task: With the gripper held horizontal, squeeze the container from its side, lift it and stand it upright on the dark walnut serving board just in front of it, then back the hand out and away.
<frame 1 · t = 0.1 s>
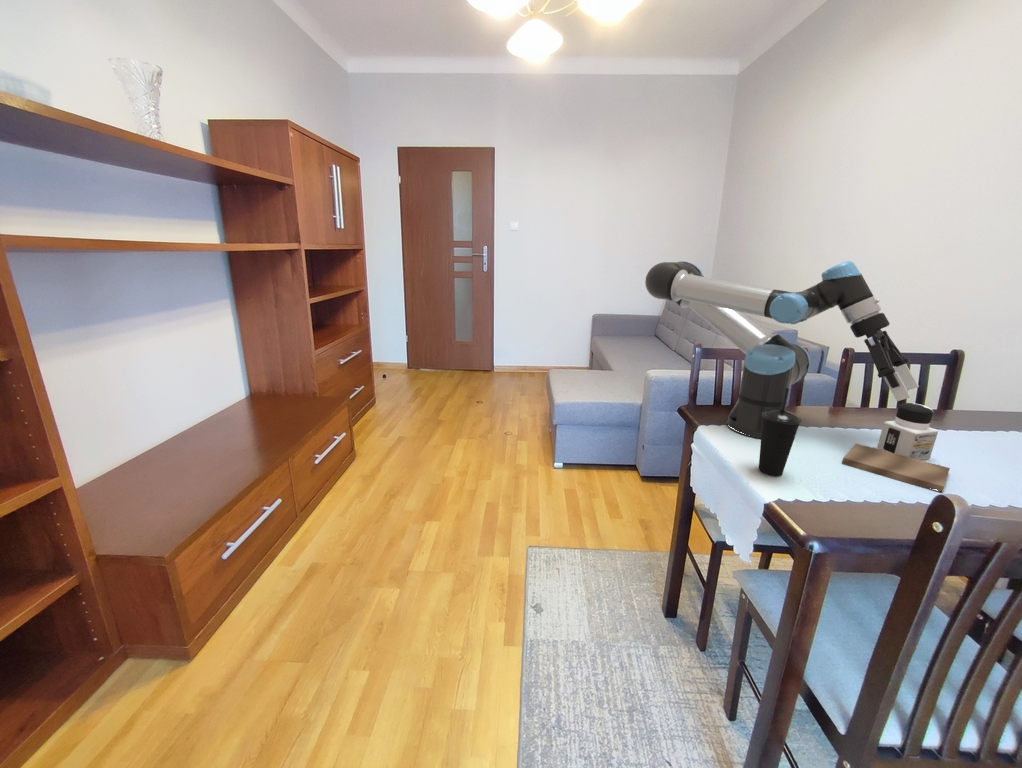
hand: (908, 393, 114), 15 cm above the table, tool tilted 35°, fingers open, 13 cm apart
drinking cup: (770, 472, 105), on the table
container: (902, 454, 116), on the table
serving board: (893, 468, 108), on the table
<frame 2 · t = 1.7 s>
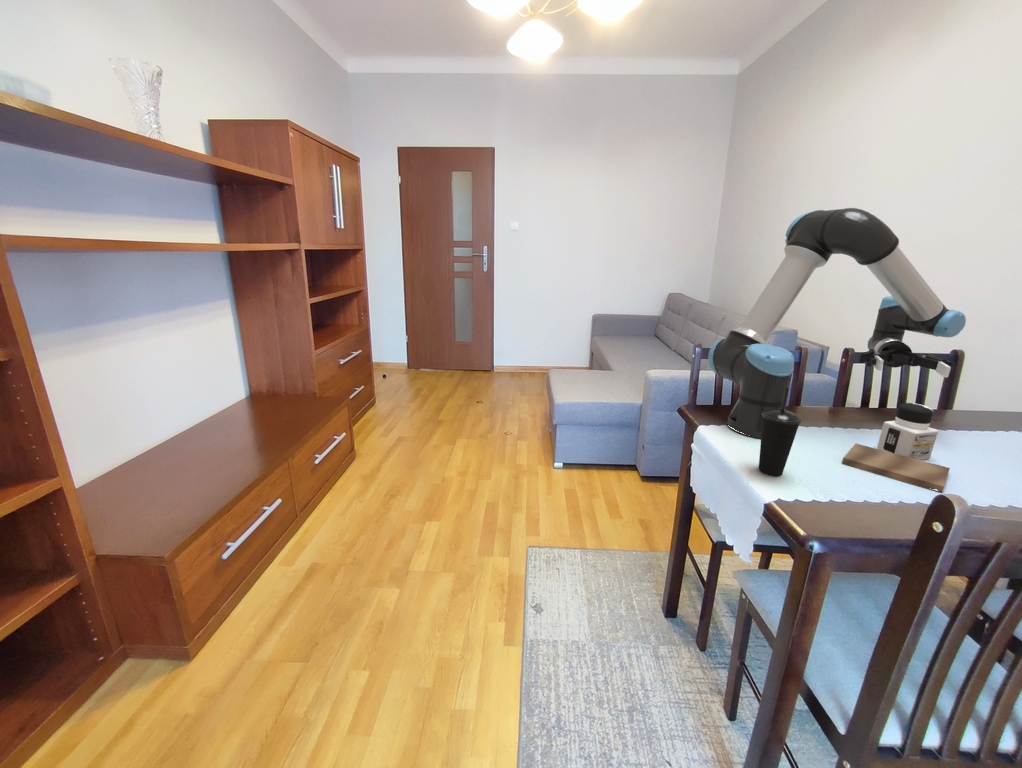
hand: (913, 368, 118), 20 cm above the table, tool horizontal, fingers open, 13 cm apart
nothing on the table moved.
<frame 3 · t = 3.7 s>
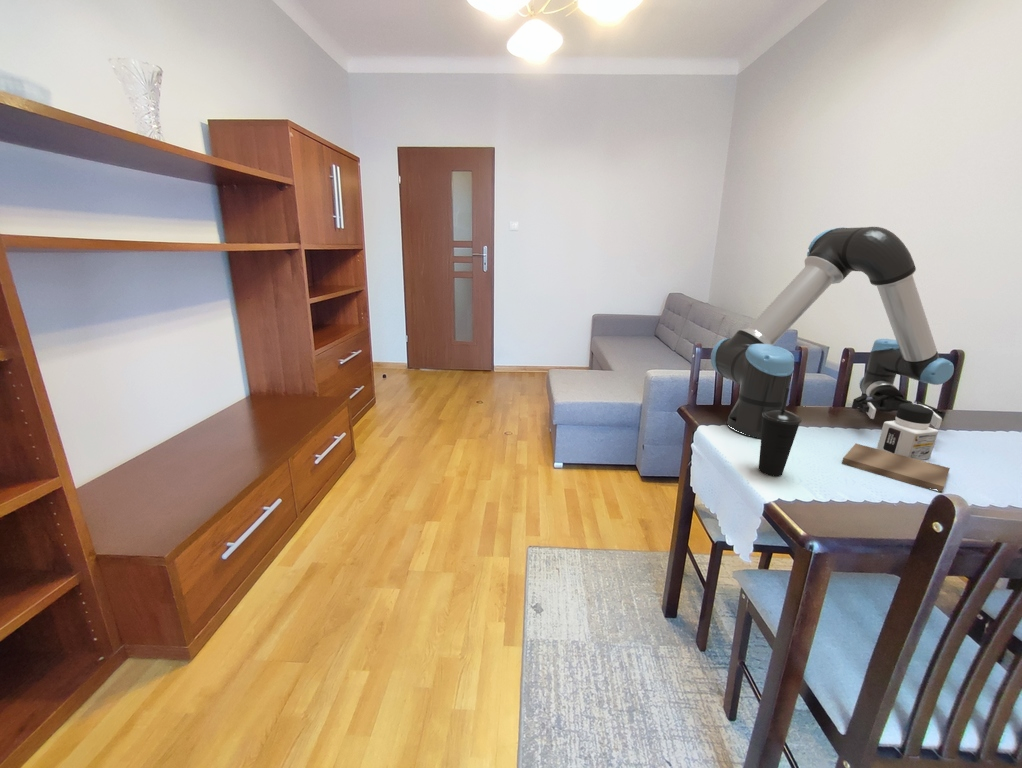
hand: (905, 418, 119), 7 cm above the table, tool horizontal, fingers open, 13 cm apart
nothing on the table moved.
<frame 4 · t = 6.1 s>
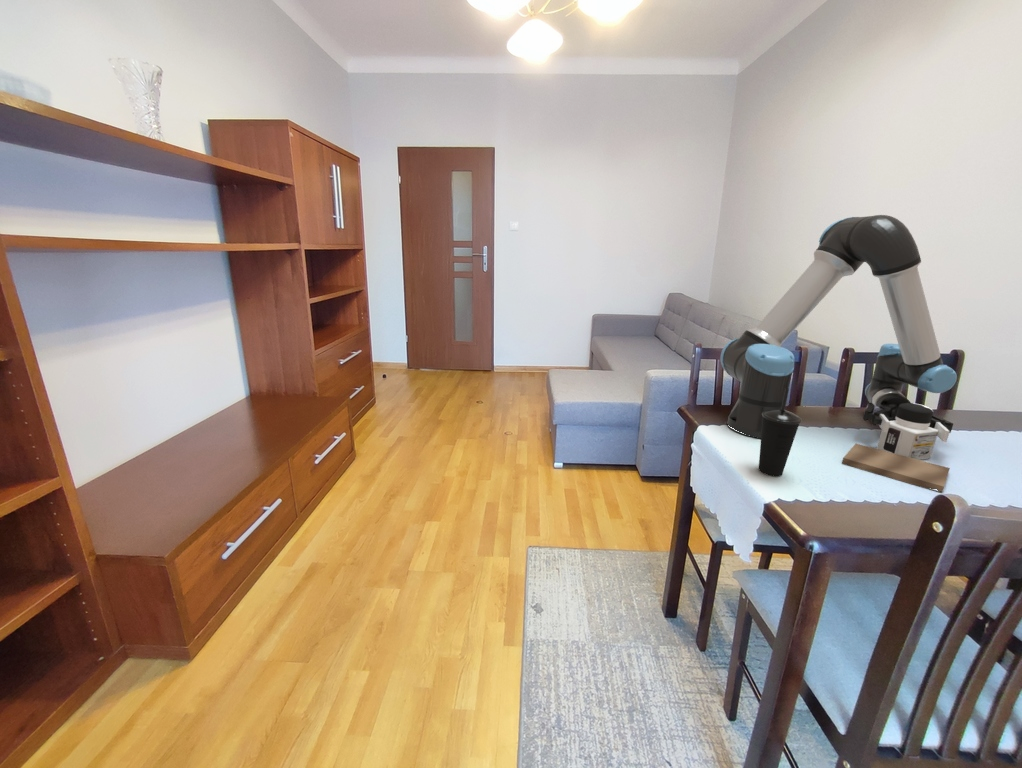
hand: (915, 431, 110), 8 cm above the table, tool horizontal, fingers closed on container, 10 cm apart
container: (902, 454, 116), on the table, touching gripper
everything else where it was.
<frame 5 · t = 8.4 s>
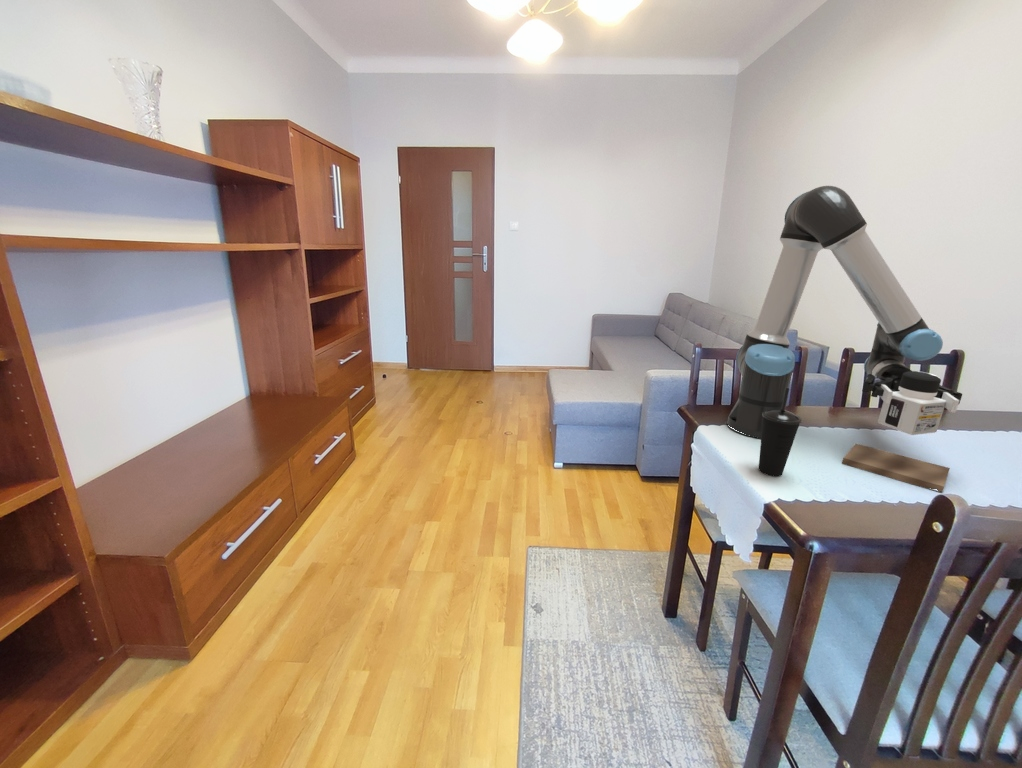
hand: (921, 401, 99), 18 cm above the table, tool horizontal, fingers closed on container, 10 cm apart
container: (905, 428, 105), point 10 cm above the table, touching gripper
everything else where it was.
when the fingers open (10 cm above the table, at t = 10.7 s): container drops 1 cm, resting on serving board.
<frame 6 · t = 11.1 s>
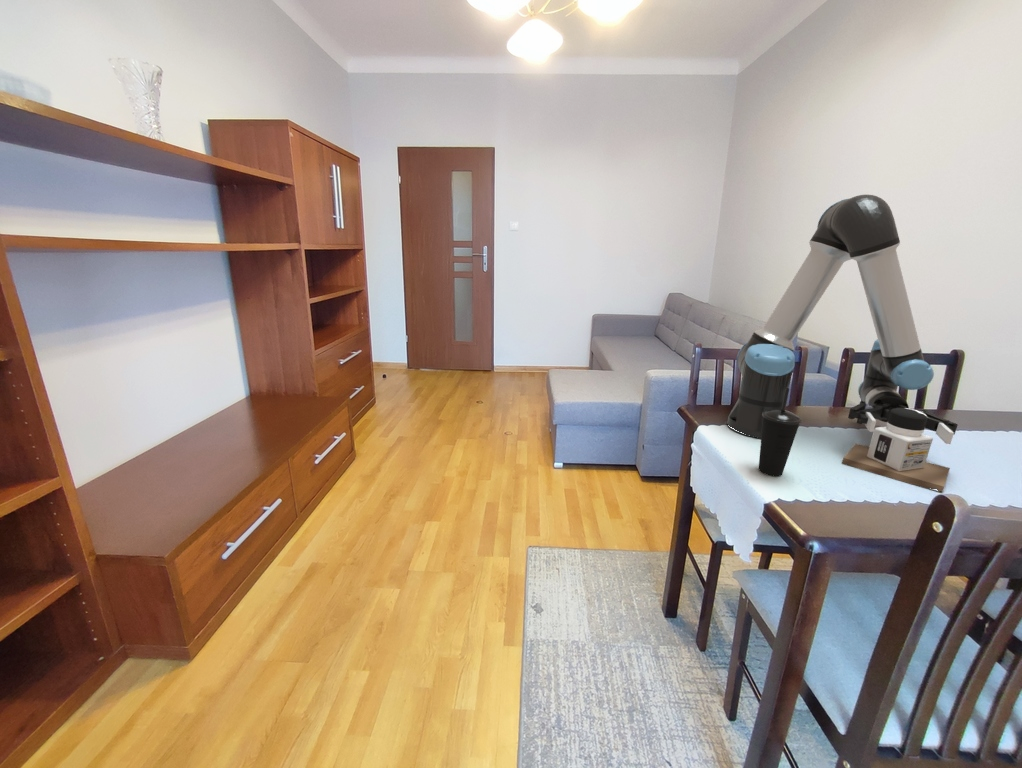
hand: (910, 432, 102), 10 cm above the table, tool horizontal, fingers open, 13 cm apart
container: (894, 463, 108), point 1 cm above the table, touching serving board
everything else where it was.
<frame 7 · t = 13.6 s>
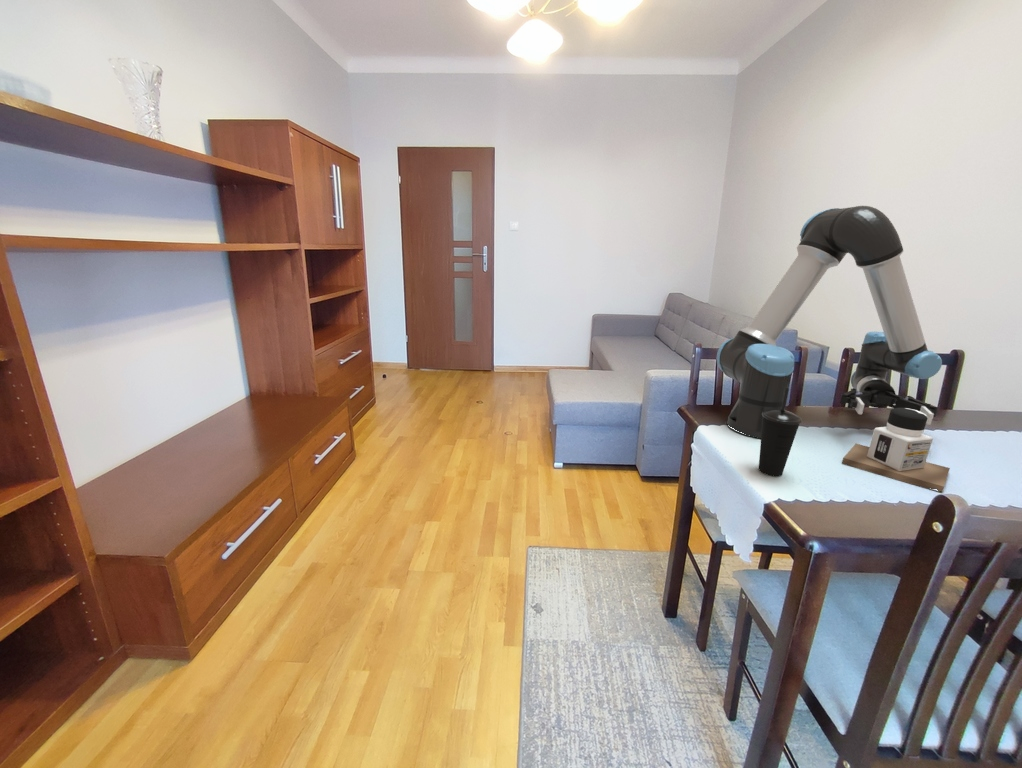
hand: (895, 414, 113), 11 cm above the table, tool horizontal, fingers open, 13 cm apart
nothing on the table moved.
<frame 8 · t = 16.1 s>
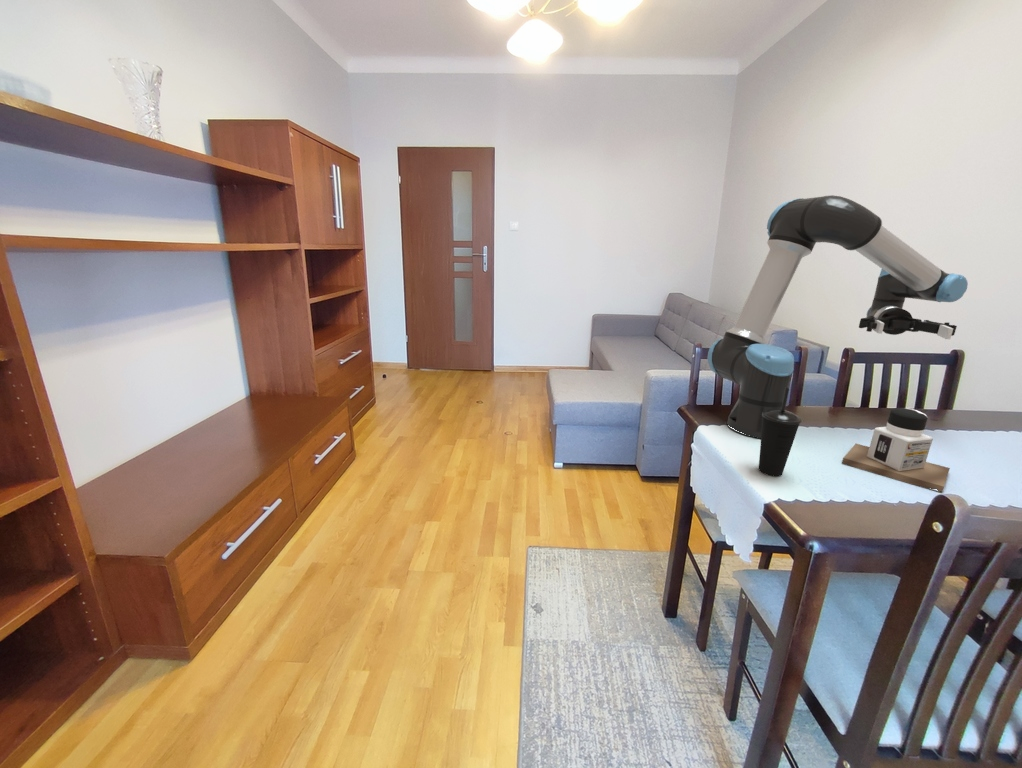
hand: (914, 331, 115), 30 cm above the table, tool horizontal, fingers open, 13 cm apart
nothing on the table moved.
at the end: container inside the target area on the serving board (0.2 cm from its centre), point 1.3 cm above the serving board's base; container tilted 0°; the gripper is holding nothing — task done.
